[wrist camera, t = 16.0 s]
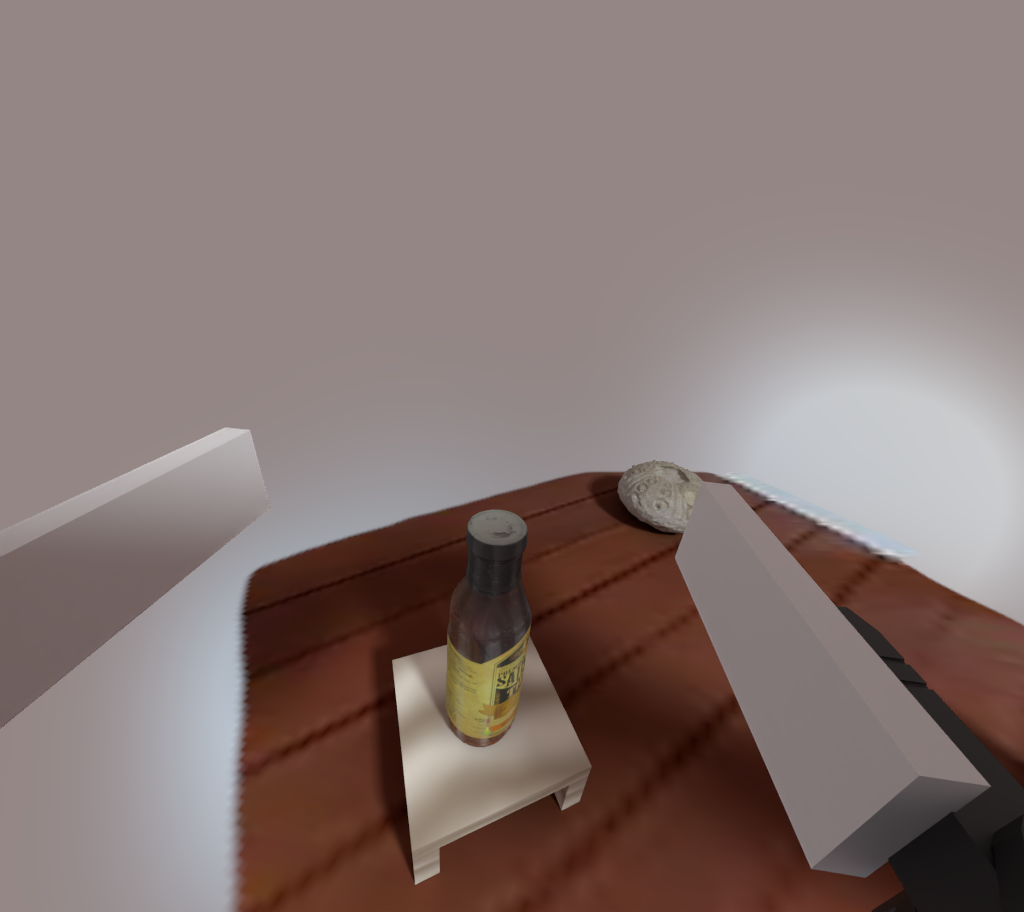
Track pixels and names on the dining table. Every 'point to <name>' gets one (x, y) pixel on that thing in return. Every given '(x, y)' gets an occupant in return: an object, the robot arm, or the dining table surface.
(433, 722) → the shelf stand
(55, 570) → the robot arm
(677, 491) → the grey rounded lump
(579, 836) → the dining table surface
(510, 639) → the sauce bottle
